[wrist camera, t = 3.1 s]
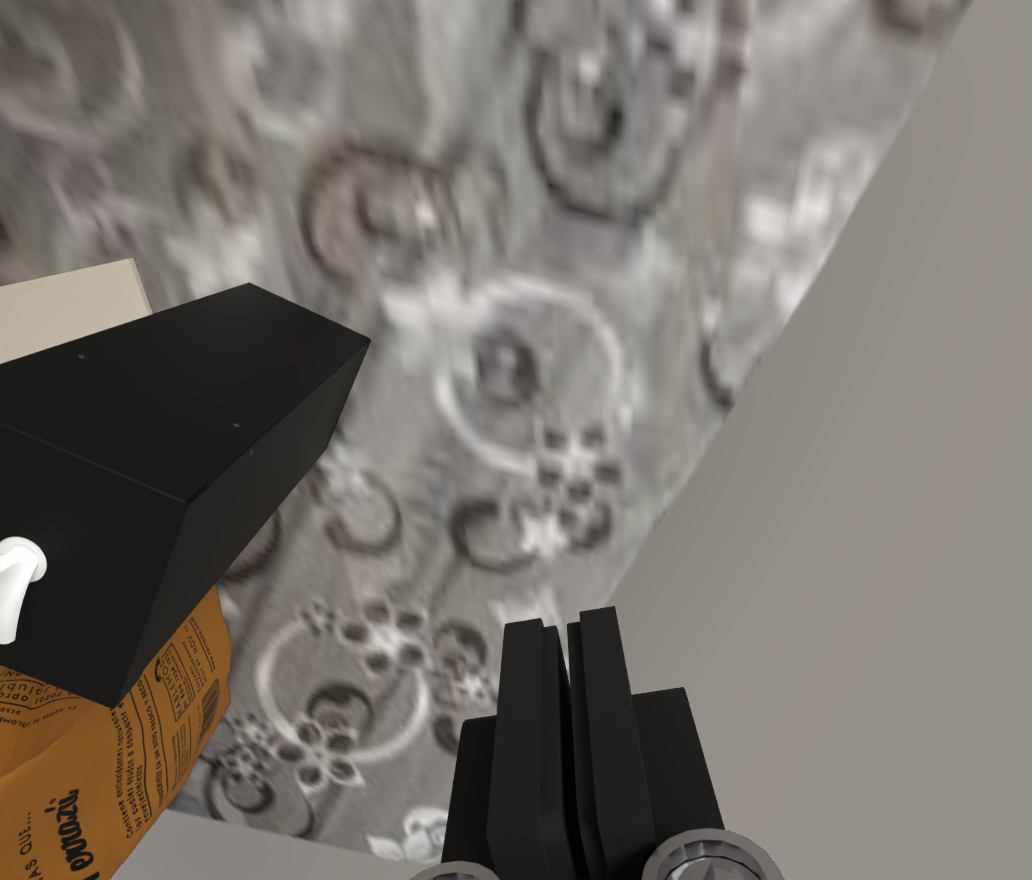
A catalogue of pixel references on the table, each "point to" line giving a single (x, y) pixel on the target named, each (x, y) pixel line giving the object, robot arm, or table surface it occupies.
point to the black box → (152, 473)
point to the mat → (68, 307)
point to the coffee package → (105, 755)
